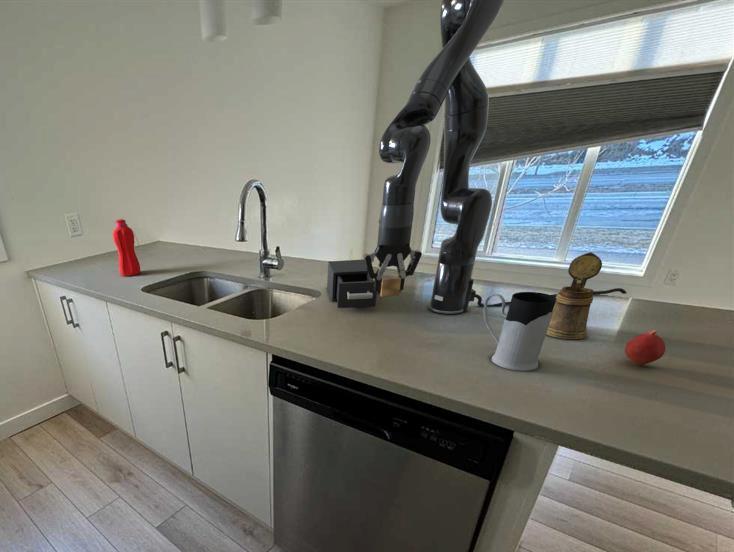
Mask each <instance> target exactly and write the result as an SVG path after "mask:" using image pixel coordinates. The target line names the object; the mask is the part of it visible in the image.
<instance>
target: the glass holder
mask: <svg viewBox="0 0 734 552" xmlns="http://www.w3.org/2000/svg"><path fill="white" fill-rule="evenodd" d="M552 295H553V294H548V293H545V292H538V291H520V292H515V293H513V294H512V296H511V299H510V301H509V302H510V305H508V310H507V313H505V309H506V305H505V302H506V299H505V298H504V296H502V295H501V294H500V293H494V294H490V295H488V297H486V299H485V301H484V303H483V304H484V307H483V320H484V323H485V326H486V327H487V329H488V331H489V332H490V334H491V335H492V337H493V338H494V339H495V341H496V344H497V346H496V350H495V352H494V354H493V355H492V357H491V361H492V363H493V364H495V365H497V366H498V367H501V368H504V369H507V370H512V371H519V372H521V371H522V372H529V371H534V370H536V369H538V367H539V360H538V359H539V356H540V354H541V350H542V348H543V345H544V342H545V339H546V336H547V334H546V333H547V330H548V327H549V324H550V321H551V318H552V315H553V313H552V312H553V309H554V306H555V303H556V300H557V299H556V297H554V296H552ZM492 297H498V298H499V299H500V300H501V303H502V306H501V310H500V314H501V315H502V316H503V317H504V322H503V324H502V327H501V331H500V335H499V337H498V336H497V334H496V333H495V332H494V330H493V328H492V326H491V324H490V322H489V319H488V318H489V317H488V312H487V311H488V307H487V305H489V304H488V303H489V300H490V298H492Z"/></svg>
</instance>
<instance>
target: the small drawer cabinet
mask: <svg viewBox="0 0 734 552" xmlns="http://www.w3.org/2000/svg"><path fill="white" fill-rule="evenodd" d="M373 271H374V272H375V270H374V269H373ZM348 274H368V273H367V269H366V265H365V260H364V258H363V259H347V260H329V261H328V262H327V279H326V280H327V283H326V284H327V285H326V289H327V292H328V294H329V297H330V300H331V302H337V301H338V300H337V298H336V295H335V287H336V275H348ZM372 279H373V280H374V278H372Z"/></svg>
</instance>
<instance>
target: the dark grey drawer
mask: <svg viewBox="0 0 734 552" xmlns="http://www.w3.org/2000/svg"><path fill="white" fill-rule="evenodd" d="M374 282H375V279H374V278H373V279H372V278H370V277H369V275H368V274H348V275H336V287H335V295H336V298H337V300H338V301H336V302H337V303H336V307H337V309H350V308H352V309H353V308H373V307H374V308H376V307H377V306H376V305H377V297H378V294H377V293H376V292H375V290H374Z"/></svg>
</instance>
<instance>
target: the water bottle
mask: <svg viewBox="0 0 734 552" xmlns="http://www.w3.org/2000/svg"><path fill="white" fill-rule="evenodd" d="M114 223H115V224H116V227H115V228H114V229H113V232H112V239H113V243H114V244H115V247H116V249H117V252H118V270H119V273H120V275H121V276H122V277H133V276H138V275H139V274H140V272H141V264H140V261H139V259H138V257H137V253H136V251H135V249H138V248H139V247H140V245H139V244H140V243H139V240H138V238H137V236H136V233H135V232H134V230H133V229H132V228H131V227H130V226H129V225H128V223H127V221H126V219H123V218H120V219H119V218H118V219H117V220H115V222H114ZM135 238H136V240H137V244H138V246H137V247H136V245H135V244H136V242H135Z"/></svg>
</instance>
